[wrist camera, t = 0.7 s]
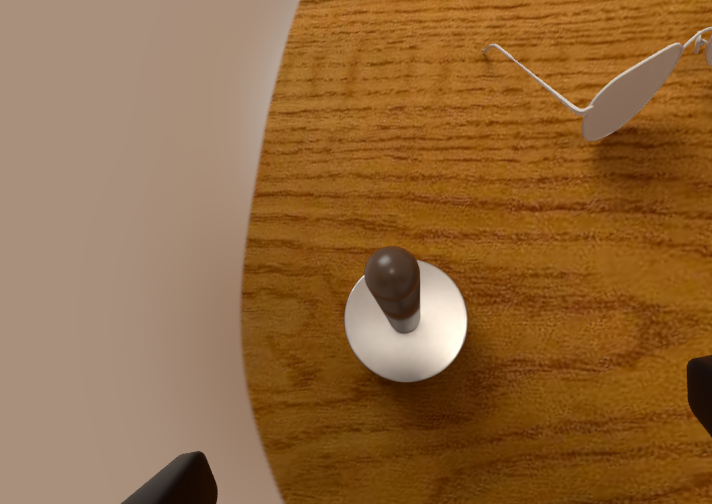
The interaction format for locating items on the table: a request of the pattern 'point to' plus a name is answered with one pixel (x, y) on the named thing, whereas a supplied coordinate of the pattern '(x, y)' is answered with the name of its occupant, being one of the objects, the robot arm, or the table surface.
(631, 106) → the sunglasses
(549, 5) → the table surface
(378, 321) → the silver joystick
